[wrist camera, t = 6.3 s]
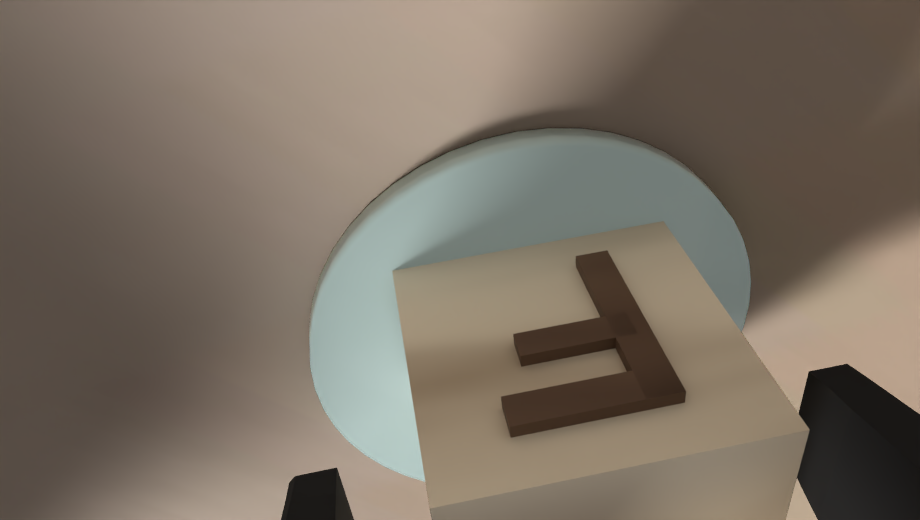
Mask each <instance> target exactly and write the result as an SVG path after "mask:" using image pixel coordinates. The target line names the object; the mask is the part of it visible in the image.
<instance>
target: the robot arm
mask: <svg viewBox="0 0 920 520" xmlns="http://www.w3.org/2000/svg"><path fill="white" fill-rule="evenodd" d="M799 415H800V417H801V418H802V420H803V421H804V422H805V424H806V425H807V427H808V428H809V434H808V438H807V442H806V445H805V449H804V453H803V457H802V460H801V464H800V468H799V471H798V475H797V478H798V481H799V483H800V485H801V487H802V489H803V491H804V493H805V495H806V497H807V499H808V501H809V503H810V505H811V507H812V509H813V511H814V513H815V515H816V517H817V519H818V520H920V414H918V413H917V412H915V411H914V410H913V409H911V408H910V407H908V406H907V405H905V404H904V403H903V402H901V401H900V400H898V399H897V398H896V397H894V396H893V395H891V394H890V393H888V392H887V391H886V390H884V389H883V388H881V387H880V386H879V385H877V384H876V383H874V382H873V381H871V380H870V379H869V378H867V377H866V376H864V375H863V374H861V373H860V372H858V371H857V370H855V369H854V368H853V367H851V366H850V365H848V364H844V365H839V366H834V367H829V368H824V369H819V370H814V371H810V372H809V373H808V378H807V382H806V386H805V390H804V394H803V398H802V402H801V406H800V410H799ZM281 520H354V519H353V516H352V513H351V509H350V506H349V503H348V500H347V497H346V494H345V491H344V488H343V485H342V482H341V479H340V476H339V473H338V470H337V468H333V469H328V470H323V471H319V472H314V473H309V474H304V475H299V476H295V477H294V478H293V479H292V480H291V481H290V483H289V487H288V492H287V496H286V501H285V505H284V510H283V514H282V518H281Z"/></svg>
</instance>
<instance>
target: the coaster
mask: <svg viewBox="0 0 920 520" xmlns="http://www.w3.org/2000/svg"><path fill="white" fill-rule="evenodd" d="M661 221H664V223H665V224H666V225H667V227H668V228H669V230H670V231H671V233H672V234H673V235H674V237H675V238H676V240H677V241H678V243H679V244H680V245H681V247H682V248H683V250H684V251H685V253H686V254H687V255H688V257H689V258H690V260H691V261H692V263H693V264H694V265H695V267H696V268H697V270H698V271H699V273H700V274H701V275H702V277H703V278H704V280H705V281H706V283H707V284H708V285H709V287H710V288H711V290H712V291H713V293H714V294H715V295H716V297H717V298H718V300H719V301H720V303H721V304H722V305H723V307H724V308H725V310H726V311H727V313H728V314H729V315H730V317H731V318H732V320H733V321H734V322H735V324H736V325H737V327H738V328H739V330H740V331H741V332H742V329H743V327H744V324H745V319H746V315H747V311H748V307H749V300H750V288H751V277H750V265H749V259H748V255H747V251H746V248H745V244H744V240H743V238H742V236H741V234H740V232H739V230H738V228H737V226H736V224H735V222H734V220H733V218H732V217H731V216H730V214H729V213H728V212H727V210H726V209H725V208H724V206H723V205H722V204H721V202H720V201H719V200H718V199H717V197H716V196H715V195H714V194H713V193H712V191H711V190H710V189H709V188H708V187H707V185H706V184H705V183H704V182H703V181H702V180H701V179H700V178H699V177H698V176H697V175H695V174H694V173H693V172H692V171H691V170H690V169H689V168H688V167H687V166H686V165H684V164H683V163H681V162H680V161H678V160H676V159H675V158H673V157H672V156H670V155H669V154H667V153H666V152H664V151H662V150H660V149H657V148H655V147H653V146H651V145H648V144H646V143H644V142H642V141H640V140H636V139H633V138H629V137H625V136H622V135H618V134H615V133H611V132H604V131H597V130H589V129H582V128H545V129H536V130H527V131H519V132H513V133H509V134H504V135H500V136H496V137H492V138H487V139H483V140H480V141H477V142H475V143H472V144H469V145H466V146H464V147H461V148H458V149H455V150H453V151H450V152H448V153H446V154H444V155H442V156H440V157H438V158H436V159H434V160H432V161H430V162H428V163H426V164H424V165H422V166H420V167H419V168H417V169H415V170H414V171H412V172H411V173H409V174H408V175H406V176H405V177H403V178H402V179H400V180H399V181H397V182H396V183H394V184H393V185H391V186H390V187H389V188H388V189H387V190H386V191H384V192H383V193H382V194H381V195H380V196H378V197H377V198H376V199H375V200H374V201H373V202H371V203H370V204H369V205H368V206H367V207H366V208H365V209H364V210H363V212H362V213H361V214H360V215H359V216H358V217H357V218H356V219H355V220H354V221H353V222H352V224H351V225H350V226H349V227H348V228H347V230H346V231H345V233H344V234H343V235H342V237H341V238H340V240H339V241H338V243H337V244H336V246H335V247H334V248H333V250H332V252H331V254H330V256H329V258H328V260H327V262H326V264H325V266H324V268H323V270H322V272H321V274H320V277H319V280H318V283H317V286H316V289H315V293H314V296H313V299H312V307H311V314H310V321H309V338H310V369H311V373H312V377H313V382H314V386H315V390H316V393H317V395H318V397H319V400H320V402H321V404H322V407H323V409H324V411H325V412H326V414H327V415H328V417H329V418H330V420H331V421H332V423H333V424H334V426H335V427H336V428H337V429H338V430H339V432H340V433H341V434H342V435H343V436H344V437H345V438H346V439H347V440H348V441H349V442H350V443H351V444H352V445H353V446H355V447H356V448H357V449H358V450H360V451H361V452H362V453H363V454H365V455H366V456H368V457H369V458H371V459H373V460H374V461H376V462H378V463H379V464H381V465H383V466H384V467H386V468H389V469H391V470H393V471H396V472H398V473H400V474H403V475H405V476H408V477H411V478H415V479H418V480H421V481H425V476H424V470H423V464H422V457H421V451H420V445H419V438H418V432H417V426H416V419H415V413H414V407H413V400H412V394H411V388H410V381H409V375H408V369H407V362H406V356H405V349H404V343H403V337H402V330H401V324H400V318H399V311H398V305H397V299H396V292H395V286H394V280H393V273H392V271H394V270H399V269H405V268H410V267H416V266H421V265H427V264H432V263H438V262H443V261H448V260H454V259H459V258H465V257H470V256H476V255H481V254H487V253H492V252H498V251H503V250H508V249H514V248H519V247H525V246H530V245H536V244H541V243H547V242H552V241H558V240H563V239H569V238H574V237H579V236H585V235H590V234H596V233H601V232H607V231H612V230H618V229H623V228H629V227H634V226H639V225H645V224H650V223H656V222H661Z"/></svg>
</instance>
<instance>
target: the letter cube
mask: <svg viewBox="0 0 920 520" xmlns="http://www.w3.org/2000/svg"><path fill="white" fill-rule="evenodd" d="M392 273H393V280H394V286H395V292H396V299H397V305H398V311H399V318H400V324H401V330H402V337H403V343H404V349H405V356H406V362H407V369H408V375H409V381H410V388H411V394H412V400H413V407H414V413H415V419H416V426H417V432H418V438H419V445H420V451H421V457H422V464H423V470H424V476H425V483H426V489H427V495H428V502H429V508H430V513H431V518H432V520H786V516H787V512H788V509H789V505H790V501H791V498H792V494H793V490H794V486H795V483H796V479H797V475H798V471H799V468H800V464H801V460H802V457H803V453H804V449H805V445H806V442H807V438H808V434H809V428H808V427H807V425H806V424H805V422H804V421H803V420H802V418H801V417H800V415H799V414H798V412H797V411H796V410H795V408H794V407H793V405H792V404H791V402H790V401H789V400H788V398H787V397H786V395H785V394H784V392H783V391H782V390H781V388H780V387H779V385H778V384H777V382H776V381H775V380H774V378H773V377H772V375H771V374H770V372H769V371H768V370H767V368H766V367H765V365H764V364H763V362H762V361H761V360H760V358H759V357H758V355H757V354H756V352H755V351H754V350H753V348H752V347H751V345H750V344H749V342H748V341H747V340H746V338H745V337H744V335H743V334H742V332H741V331H740V330H739V328H738V327H737V325H736V324H735V322H734V321H733V320H732V318H731V317H730V315H729V314H728V313H727V311H726V310H725V308H724V307H723V305H722V304H721V303H720V301H719V300H718V298H717V297H716V295H715V294H714V293H713V291H712V290H711V288H710V287H709V285H708V284H707V283H706V281H705V280H704V278H703V277H702V275H701V274H700V273H699V271H698V270H697V268H696V267H695V265H694V264H693V263H692V261H691V260H690V258H689V257H688V255H687V254H686V253H685V251H684V250H683V248H682V247H681V245H680V244H679V243H678V241H677V240H676V238H675V237H674V235H673V234H672V233H671V231H670V230H669V228H668V227H667V225H666V224H665V223H664V221H661V222H656V223H650V224H645V225H639V226H634V227H629V228H623V229H618V230H612V231H607V232H601V233H596V234H590V235H585V236H579V237H574V238H569V239H563V240H558V241H552V242H547V243H541V244H536V245H530V246H525V247H519V248H514V249H508V250H503V251H498V252H492V253H487V254H481V255H476V256H470V257H465V258H459V259H454V260H448V261H443V262H438V263H432V264H427V265H421V266H416V267H410V268H405V269H399V270H394V271H392Z"/></svg>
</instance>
